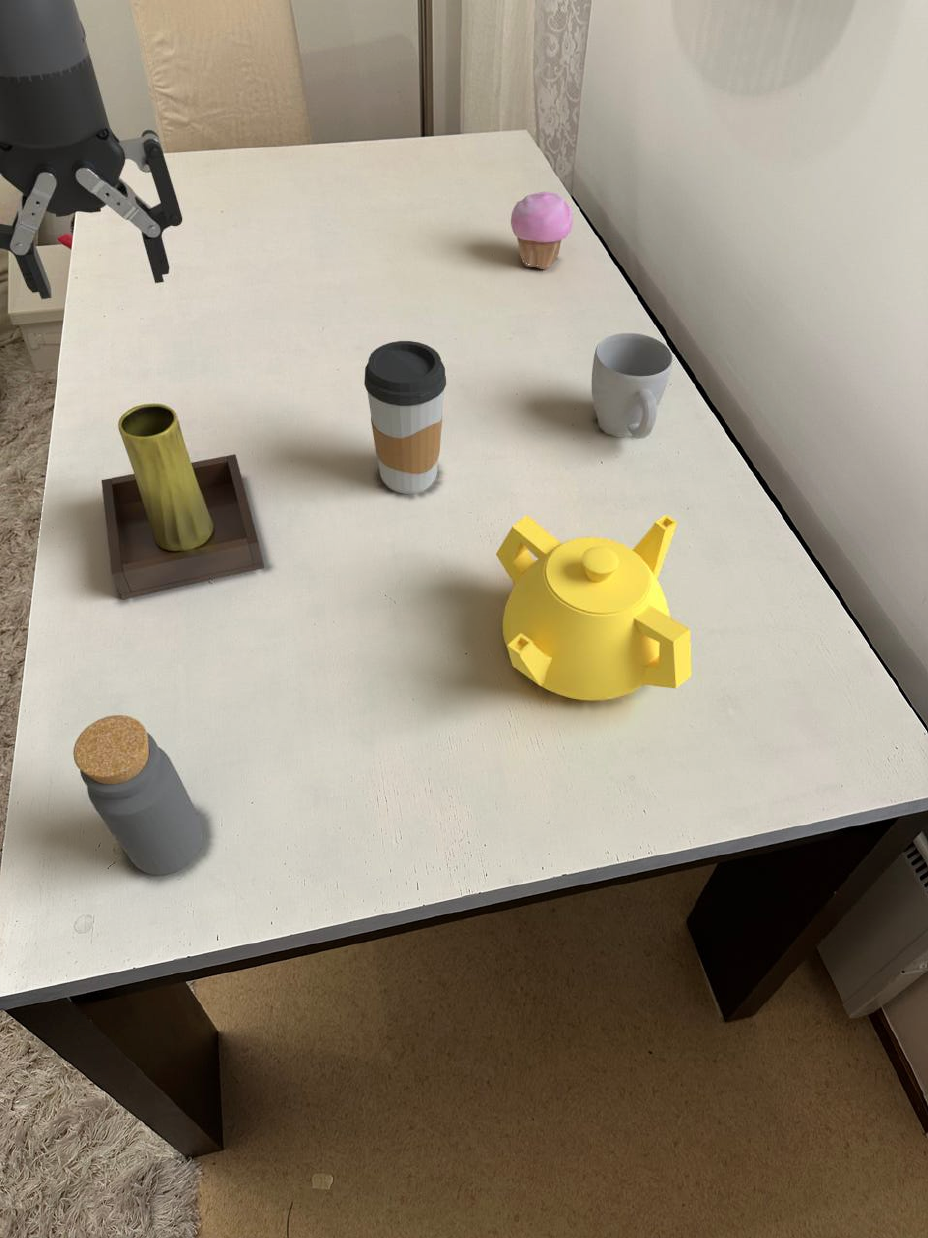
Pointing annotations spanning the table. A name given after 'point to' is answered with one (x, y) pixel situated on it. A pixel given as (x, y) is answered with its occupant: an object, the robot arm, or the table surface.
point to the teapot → (592, 613)
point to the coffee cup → (406, 413)
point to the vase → (165, 477)
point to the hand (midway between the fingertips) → (103, 285)
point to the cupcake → (541, 227)
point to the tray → (158, 569)
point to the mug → (629, 383)
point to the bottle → (139, 794)
